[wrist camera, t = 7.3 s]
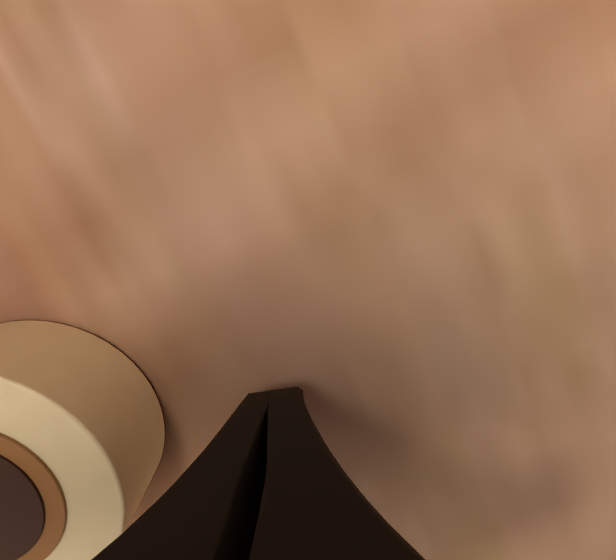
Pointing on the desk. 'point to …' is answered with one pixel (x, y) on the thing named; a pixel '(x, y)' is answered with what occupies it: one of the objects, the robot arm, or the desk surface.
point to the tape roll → (71, 441)
